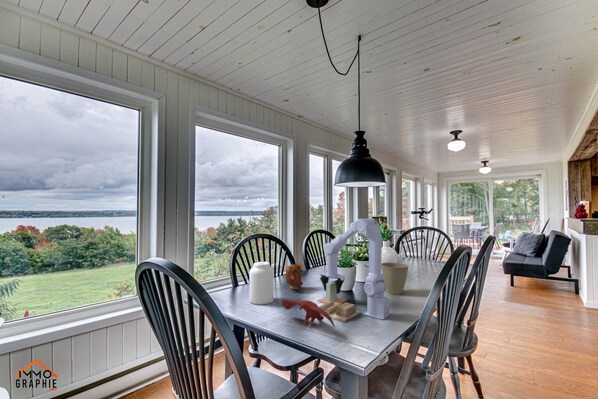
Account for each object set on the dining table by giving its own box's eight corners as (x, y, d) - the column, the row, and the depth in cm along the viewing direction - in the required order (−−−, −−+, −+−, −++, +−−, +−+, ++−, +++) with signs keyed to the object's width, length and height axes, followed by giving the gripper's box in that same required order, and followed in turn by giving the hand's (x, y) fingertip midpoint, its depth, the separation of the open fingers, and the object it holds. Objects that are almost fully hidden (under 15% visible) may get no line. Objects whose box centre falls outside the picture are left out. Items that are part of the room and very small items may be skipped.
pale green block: (337, 298, 156) (337, 281, 156) (330, 301, 151) (330, 284, 151) (333, 297, 157) (333, 280, 158) (326, 300, 152) (326, 283, 152)
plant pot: (412, 296, 160) (412, 267, 161) (385, 296, 161) (384, 267, 161) (403, 289, 175) (403, 262, 176) (378, 289, 176) (378, 262, 176)
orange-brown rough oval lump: (294, 285, 183) (294, 261, 183) (305, 287, 179) (305, 262, 179) (280, 291, 170) (280, 265, 171) (292, 294, 166) (292, 267, 166)
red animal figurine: (290, 324, 134) (272, 305, 127) (300, 307, 139) (284, 287, 132) (339, 345, 114) (322, 324, 107) (349, 324, 119) (334, 302, 112)
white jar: (244, 302, 152) (244, 263, 152) (258, 296, 163) (258, 259, 163) (264, 306, 146) (264, 266, 146) (278, 299, 157) (278, 261, 157)
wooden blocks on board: (360, 313, 136) (360, 306, 136) (344, 322, 126) (344, 315, 126) (331, 305, 147) (331, 299, 147) (314, 313, 136) (314, 306, 136)
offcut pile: (355, 312, 135) (355, 304, 135) (345, 317, 128) (345, 309, 128) (346, 309, 138) (346, 302, 138) (335, 315, 132) (335, 307, 132)
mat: (346, 300, 154) (346, 299, 154) (334, 306, 146) (334, 304, 146) (329, 296, 162) (329, 295, 162) (317, 301, 153) (317, 300, 153)
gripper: (316, 265, 156) (316, 290, 156) (339, 269, 146) (339, 296, 146) (324, 263, 161) (324, 288, 161) (346, 266, 152) (347, 293, 152)
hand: (332, 291), depth 154 cm, fingers open, 7 cm apart
